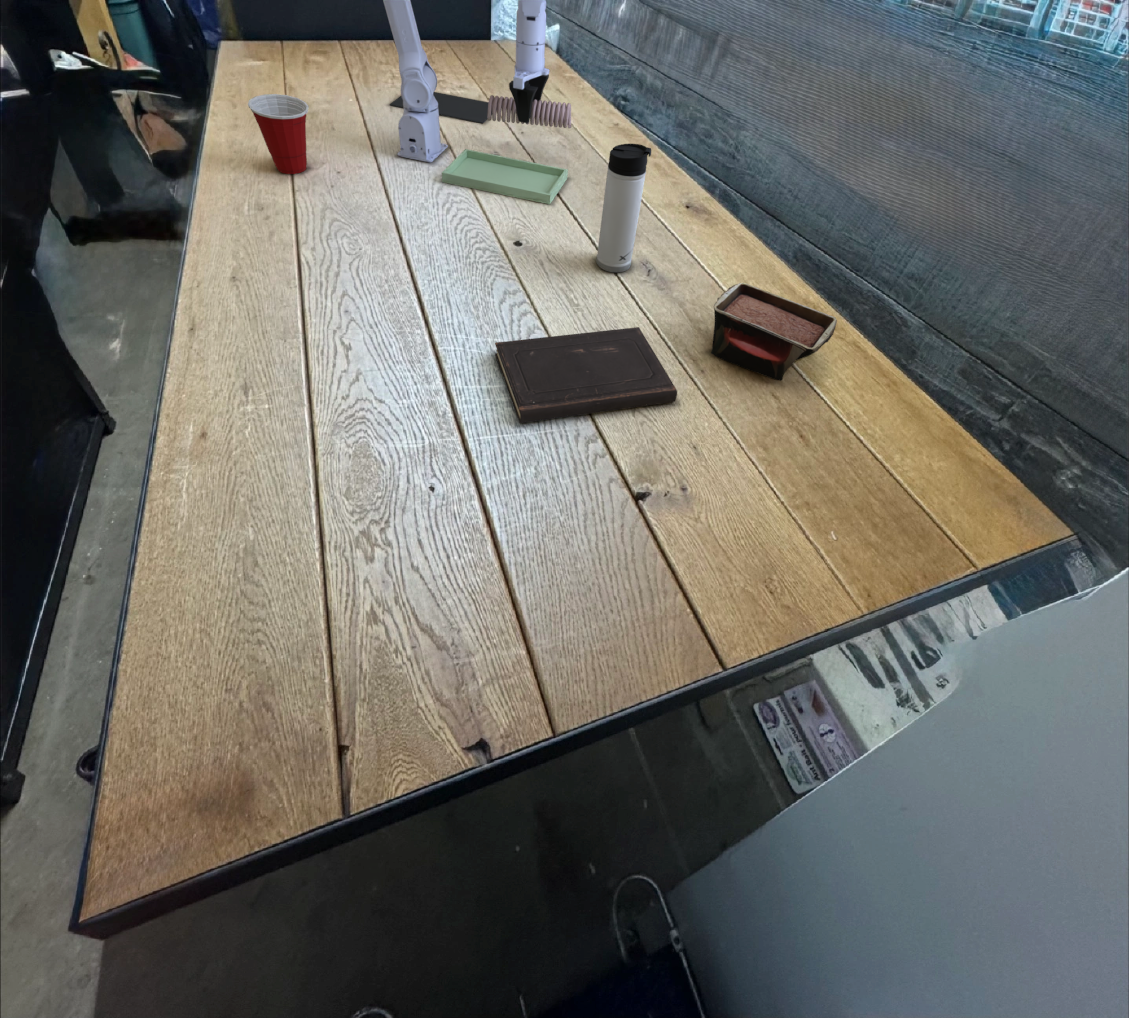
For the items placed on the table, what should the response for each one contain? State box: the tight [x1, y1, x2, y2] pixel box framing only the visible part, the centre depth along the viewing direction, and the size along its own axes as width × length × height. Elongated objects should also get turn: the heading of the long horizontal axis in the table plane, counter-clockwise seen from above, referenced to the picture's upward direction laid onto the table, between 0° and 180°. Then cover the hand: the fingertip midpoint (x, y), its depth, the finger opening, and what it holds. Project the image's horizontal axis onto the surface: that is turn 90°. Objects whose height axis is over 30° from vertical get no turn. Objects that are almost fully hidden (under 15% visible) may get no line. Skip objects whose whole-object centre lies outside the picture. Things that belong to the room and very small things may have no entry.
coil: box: [487, 94, 572, 129], centre depth 138 cm, size 5×5×18 cm
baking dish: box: [710, 282, 838, 381], centre depth 101 cm, size 14×18×10 cm
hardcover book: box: [494, 326, 678, 424], centre depth 95 cm, size 16×23×2 cm
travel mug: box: [595, 143, 652, 273], centre depth 111 cm, size 6×7×20 cm
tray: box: [441, 148, 569, 205], centre depth 136 cm, size 13×23×2 cm, turn 74°
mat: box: [389, 91, 497, 125], centre depth 161 cm, size 13×24×1 cm, turn 74°
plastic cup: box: [247, 93, 309, 175], centre depth 128 cm, size 11×11×12 cm
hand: (528, 117), depth 138 cm, fingers closed on coil, 5 cm apart
